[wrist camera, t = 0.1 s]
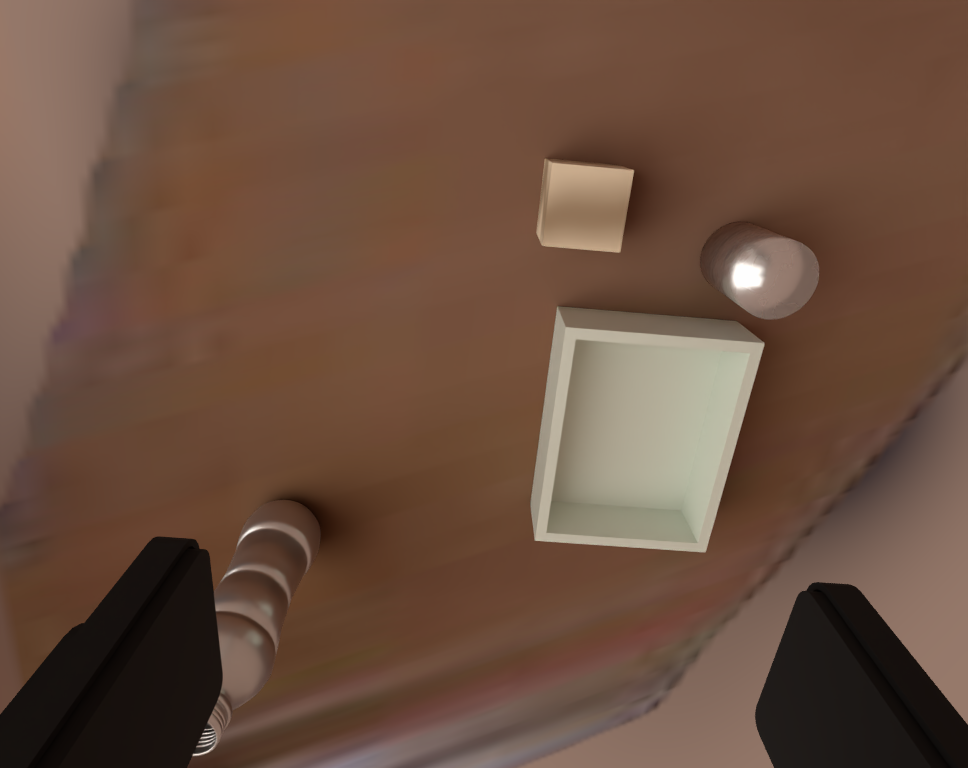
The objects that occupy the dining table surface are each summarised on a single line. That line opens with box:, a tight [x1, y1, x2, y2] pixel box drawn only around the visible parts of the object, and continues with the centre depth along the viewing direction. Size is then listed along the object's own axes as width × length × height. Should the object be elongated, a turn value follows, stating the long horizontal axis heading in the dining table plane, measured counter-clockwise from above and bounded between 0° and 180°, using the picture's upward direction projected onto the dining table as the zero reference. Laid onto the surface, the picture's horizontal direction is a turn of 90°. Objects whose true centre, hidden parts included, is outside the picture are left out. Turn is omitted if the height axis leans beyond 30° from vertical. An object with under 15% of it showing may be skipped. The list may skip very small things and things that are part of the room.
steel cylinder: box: [700, 222, 819, 319], centre depth 41 cm, size 5×5×7 cm
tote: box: [530, 306, 765, 552], centre depth 47 cm, size 18×14×5 cm
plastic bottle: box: [192, 500, 321, 756], centre depth 44 cm, size 6×7×20 cm
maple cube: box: [536, 158, 634, 253], centre depth 40 cm, size 5×5×5 cm
